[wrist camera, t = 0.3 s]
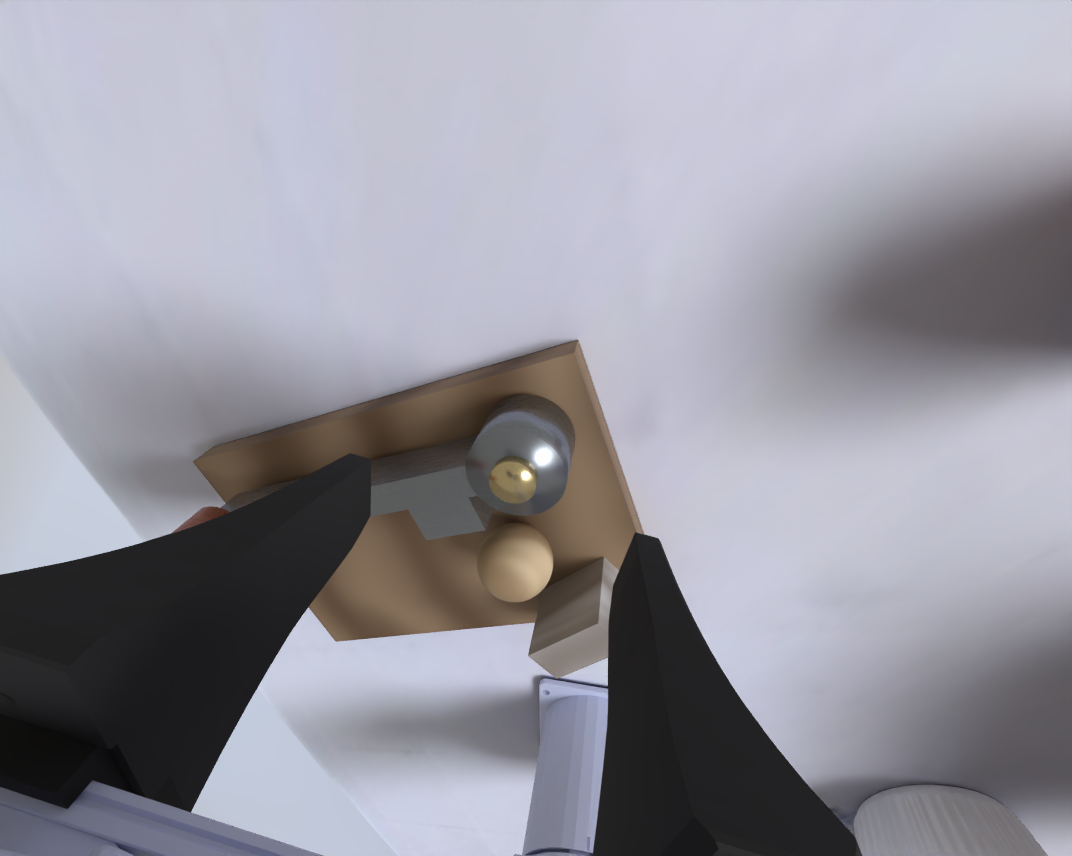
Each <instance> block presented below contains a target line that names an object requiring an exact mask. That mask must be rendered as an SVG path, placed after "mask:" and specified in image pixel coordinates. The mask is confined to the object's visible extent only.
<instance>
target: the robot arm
mask: <svg viewBox="0 0 1072 856" xmlns="http://www.w3.org/2000/svg"><path fill="white" fill-rule="evenodd" d="M370 516H371V459H369V458H366V457H362V456H358V455H355V454H351V453H349V454H347V455H345V456H343V457H341V458H339V459H337V460H336V461H334V462H332V463H330V464H328V465H326V466H324V467H322V468H321V469H319V470H317V471H315V472H313V473H311V474H309V475H307V476H305V477H303V478H301V479H300V480H298V481H296V482H294V483H292V484H290V485H288V486H286V487H284V488H282V489H280V490H278V491H276V492H274V493H271V494H269V495H267V496H265V497H263V498H261V499H258V500H256V501H254V502H252V503H250V504H248V505H245V506H243V507H241V508H239V509H236V510H234V511H232V512H229V513H227V514H224V515H222V516H219V517H217V518H214V519H212V520H209V521H206V522H204V523H201V524H198V525H196V526H193V527H190V528H187V529H184V530H181V531H178V532H175V533H172V534H168V535H165V536H162V537H159V538H156V539H152V540H149V541H146V542H143V543H140V544H136V545H133V546H129V547H125V548H122V549H118V550H114V551H111V552H107V553H102V554H98V555H94V556H90V557H86V558H82V559H77V560H73V561H69V562H64V563H59V564H54V565H49V566H44V567H39V568H34V569H29V570H24V571H19V572H13V573H8V574H2V575H0V856H322V855H319V854H316V853H313V852H310V851H307V850H304V849H301V848H298V847H295V846H292V845H289V844H286V843H283V842H280V841H276V840H273V839H270V838H267V837H264V836H261V835H258V834H255V833H252V832H249V831H246V830H243V829H239V828H237V827H234V826H230V825H227V824H224V823H221V822H218V821H215V820H212V819H209V818H206V817H203V816H200V815H197V814H194V813H191V811H192V809H193V807H194V805H195V803H196V801H197V799H198V797H199V795H200V793H201V791H202V789H203V787H204V785H205V783H206V781H207V779H208V777H209V776H210V774H211V772H212V770H213V768H214V766H215V764H216V762H217V760H218V758H219V756H220V754H221V752H222V750H223V748H224V747H225V745H226V743H227V741H228V739H229V738H230V736H231V734H232V732H233V730H234V728H235V727H236V725H237V723H238V721H239V719H240V717H241V716H242V714H243V712H244V710H245V708H246V706H247V705H248V703H249V701H250V699H251V698H252V696H253V694H254V693H255V691H256V689H257V688H258V686H259V684H260V682H261V681H262V679H263V677H264V675H265V674H266V672H267V670H268V669H269V667H270V665H271V664H272V662H273V660H274V659H275V657H276V655H277V654H278V652H279V650H280V649H281V647H282V645H283V644H284V642H285V641H286V639H287V637H288V636H289V634H290V632H291V631H292V629H293V628H294V626H295V625H296V624H297V622H298V621H299V619H300V618H301V616H302V615H303V614H304V612H305V611H306V610H307V608H308V607H309V606H310V604H311V603H312V602H313V600H314V599H315V598H316V596H317V595H318V594H319V592H320V591H321V590H322V588H323V587H324V586H325V584H326V583H327V582H328V580H329V579H330V578H331V576H332V575H333V574H334V572H335V571H336V570H337V568H338V567H339V566H340V564H341V563H342V562H343V560H344V559H345V558H346V556H347V555H348V553H349V552H350V551H351V549H352V548H353V546H354V544H355V543H356V541H357V539H358V538H359V536H360V534H361V532H362V531H363V529H364V527H365V525H366V523H367V521H368V519H369V518H370ZM539 724H540V749H539V755H538V761H537V767H536V773H535V780H534V786H533V792H532V798H531V804H530V810H529V816H528V822H527V828H526V834H525V840H524V846H523V853H522V855H517V854H515V855H514V856H862V853H861V851H860V848H859V846H858V843H857V840H856V838H855V837H854V836H853V834H852V833H851V832H850V831H849V830H848V829H847V828H846V827H845V826H844V825H843V823H842V822H841V821H840V820H839V819H838V818H837V817H836V816H835V815H834V814H833V812H832V811H831V810H830V809H829V808H828V807H827V806H826V805H825V804H824V803H823V802H822V800H821V799H820V798H819V797H818V796H817V795H816V794H815V793H814V792H813V791H812V789H811V788H810V787H809V786H808V785H807V784H806V783H805V781H804V780H803V779H802V778H801V777H800V775H799V774H798V773H797V772H796V771H795V769H794V768H793V767H792V766H791V764H790V763H789V762H788V761H787V760H786V758H785V757H784V756H783V755H782V754H781V752H780V751H779V750H778V749H777V747H776V746H775V745H774V743H773V742H772V741H771V740H770V738H769V737H768V736H767V734H766V733H765V732H764V730H763V729H762V727H761V726H760V725H759V723H758V722H757V721H756V719H755V718H754V717H753V715H752V714H751V713H750V711H749V710H748V708H747V707H746V706H745V704H744V703H743V702H742V700H741V699H740V697H739V696H738V694H737V693H736V691H735V690H734V688H733V687H732V685H731V683H730V682H729V680H728V679H727V677H726V676H725V674H724V672H723V671H722V669H721V668H720V666H719V664H718V662H717V661H716V659H715V657H714V656H713V654H712V652H711V650H710V649H709V647H708V645H707V643H706V641H705V639H704V638H703V636H702V634H701V632H700V630H699V628H698V626H697V624H696V622H695V620H694V618H693V616H692V614H691V612H690V610H689V608H688V606H687V604H686V602H685V599H684V597H683V595H682V593H681V591H680V589H679V586H678V584H677V582H676V579H675V577H674V575H673V572H672V570H671V567H670V565H669V562H668V560H667V557H666V555H665V552H664V550H663V547H662V544H661V542H660V540H659V539H658V538H655V537H651V536H648V535H644V534H640V533H637V532H635V534H634V536H633V539H632V541H631V543H630V546H629V548H628V550H627V553H626V555H625V558H624V560H623V562H622V565H621V567H620V570H619V572H618V574H617V577H616V579H615V582H614V584H613V590H612V597H611V605H610V614H609V625H608V689H606V688H600V687H594V686H588V685H582V684H576V683H570V682H564V681H558V680H552V679H542V680H540V684H539Z"/></svg>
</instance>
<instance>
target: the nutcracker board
mask: <svg viewBox="0 0 1072 856" xmlns="http://www.w3.org/2000/svg"><path fill="white" fill-rule="evenodd" d="M516 395H535V396H540V397H543V398H546V399H548V400H550V401H552V402H554V403H555V404H557V405H558V406H559V407H560V408H561V409H563V410H564V411H565V413H566V414H567V415H568V417H569V418H570V420H571V422H572V424H573V426H574V430H575V435H576V441H575V447H574V452H573V457H572V461H571V466H570V471H569V475H568V480H567V485H566V489H565V492H564V494H563V496H562V498H561V499H560V500H559V502H558V503H557V504H556V505H555V506H553V507H552V508H550V509H549V510H547V511H545V512H542V513H539V514H535V515H529V516H519V515H512V514H507V513H504V512H501V511H499V510H497V509H495V508H494V510H493V513H492V515H491V518H490V520H489V523H488V525H487V528H486V530H484V531H478V532H473V533H467V534H461V535H455V536H449V537H443V538H437V539H431V540H426V539H425V537H424V536H423V534H422V532H421V531H420V529H419V527H418V526H417V524H416V522H415V521H414V519H413V517H412V516H411V514H410V512H409V510H403V511H398V512H393V513H388V514H383V515H378V516H373V517H370V518H369V519H368V521H367V523H366V525H365V527H364V529H363V531H362V532H361V534H360V536H359V538H358V539H357V541H356V543H355V544H354V546H353V548H352V549H351V551H350V552H349V553H348V555H347V556H346V558H345V559H344V560H343V562H342V563H341V564H340V566H339V567H338V568H337V570H336V571H335V572H334V574H333V575H332V576H331V578H330V579H329V580H328V582H327V583H326V584H325V586H324V587H323V588H322V590H321V591H320V592H319V594H318V595H317V596H316V598H315V599H314V600H313V602H312V603H311V604H310V606H309V608H310V610H311V611H312V612H313V613H314V615H315V616H316V617H317V618H318V620H319V621H320V622H321V623H322V625H323V626H324V627H325V628H326V630H327V631H328V632H329V634H330V635H331V636H332V637H333V639H334V640H335V641H347V640H357V639H367V638H378V637H388V636H399V635H409V634H419V633H430V632H440V631H451V630H461V629H471V628H482V627H492V626H503V625H513V624H523V623H534V622H535V626H534V631H533V635H532V640H531V645H530V649H529V654H528V656H529V657H530V658H531V659H533V660H534V661H535V662H536V663H538V664H539V665H540V666H541V667H543V668H544V669H545V670H546V671H548V672H549V673H550V674H551V675H553V676H554V677H555V678H556V679H557V678H560V677H562V676H565V675H567V674H569V673H572V672H574V671H577V670H579V669H582V668H584V667H586V666H589V665H591V664H594V663H596V662H598V661H601V660H603V659H606V658H608V625H609V614H610V605H611V597H612V590H613V584H614V582H615V579H616V577H617V574H618V572H619V570H620V567H621V565H622V562H623V560H624V558H625V555H626V553H627V550H628V548H629V546H630V543H631V541H632V539H633V536H634V534H635V532H637V533H640V534H644V533H643V530H642V527H641V524H640V521H639V518H638V515H637V512H636V509H635V506H634V503H633V500H632V497H631V494H630V491H629V488H628V485H627V482H626V479H625V477H624V474H623V471H622V468H621V465H620V462H619V459H618V456H617V453H616V450H615V447H614V444H613V441H612V438H611V435H610V432H609V429H608V426H607V423H606V420H605V417H604V415H603V412H602V409H601V406H600V403H599V400H598V397H597V394H596V391H595V388H594V385H593V382H592V379H591V376H590V373H589V370H588V367H587V364H586V361H585V358H584V356H583V353H582V350H581V347H580V344H579V341H578V340H576V341H573V342H569V343H566V344H563V345H559V346H556V347H552V348H549V349H546V350H542V351H539V352H535V353H532V354H528V355H525V356H522V357H518V358H515V359H511V360H508V361H505V362H501V363H498V364H494V365H491V366H488V367H484V368H481V369H477V370H474V371H471V372H467V373H464V374H460V375H457V376H454V377H450V378H447V379H443V380H440V381H436V382H433V383H430V384H426V385H423V386H419V387H416V388H413V389H409V390H406V391H402V392H399V393H396V394H392V395H389V396H385V397H382V398H379V399H375V400H372V401H368V402H365V403H362V404H358V405H355V406H351V407H348V408H344V409H341V410H338V411H334V412H331V413H327V414H324V415H321V416H317V417H314V418H310V419H307V420H304V421H300V422H297V423H293V424H290V425H287V426H283V427H280V428H276V429H273V430H269V431H266V432H263V433H259V434H256V435H252V436H249V437H246V438H242V439H239V440H235V441H232V442H229V443H225V444H222V445H218V446H215V447H213V448H211V449H210V450H208V451H207V452H206V453H204V454H203V455H201V456H200V457H199V458H197V459H196V460H194V461H193V462H194V464H195V465H196V466H197V467H198V469H199V470H200V471H201V472H202V474H203V475H204V476H205V477H206V479H207V480H208V481H209V483H210V484H211V485H212V486H213V488H214V489H215V490H216V491H217V493H218V494H219V495H220V496H221V498H222V499H223V500H224V501H225V503H227V502H228V501H229V500H230V499H231V498H232V497H234V496H235V495H236V494H237V493H241V492H246V491H250V490H254V489H258V488H262V487H266V486H270V485H274V484H278V483H283V482H287V481H291V480H295V479H299V478H303V477H305V476H307V475H309V474H311V473H313V472H315V471H317V470H319V469H321V468H322V467H324V466H326V465H328V464H330V463H332V462H334V461H336V460H337V459H339V458H341V457H343V456H345V455H347V454H349V453H351V454H355V455H358V456H362V457H366V458H369V459H371V461H373V460H377V459H381V458H385V457H389V456H393V455H398V454H402V453H406V452H410V451H414V450H418V449H422V448H426V447H430V446H435V445H439V444H443V443H447V442H451V441H455V440H459V439H463V438H467V437H472V436H476V435H479V433H480V431H481V429H482V427H483V426H484V424H485V422H486V420H487V418H488V416H489V415H490V413H491V411H492V410H493V409H494V407H495V406H496V405H497V404H499V403H500V402H501V401H503V400H505V399H507V398H509V397H512V396H516ZM507 523H524V524H527V525H530V526H532V527H534V528H535V529H537V530H538V531H540V532H541V533H542V534H543V535H544V537H545V538H546V539H547V541H548V543H549V545H550V547H551V550H552V554H553V571H552V574H551V577H550V579H549V581H548V583H547V585H546V586H545V588H544V589H543V590H542V591H541V592H540V593H539V594H537V595H536V596H534V597H533V598H531V599H529V600H526V601H522V602H507V601H503V600H501V599H498V598H496V597H495V596H493V595H492V594H491V593H489V592H488V591H487V589H486V588H485V587H484V586H483V584H482V582H481V580H480V578H479V575H478V571H477V554H478V551H479V548H480V545H481V543H482V542H483V540H484V539H485V537H486V536H487V535H488V534H489V533H490V532H491V531H492V530H494V529H495V528H497V527H499V526H501V525H504V524H507Z"/></svg>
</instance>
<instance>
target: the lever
mask: <svg viewBox="0 0 1072 856" xmlns="http://www.w3.org/2000/svg"><path fill="white" fill-rule="evenodd" d="M575 441H576V435H575V430H574V426H573V424H572V422H571V420H570V418H569V417H568V415H567V414H566V413H565V411H564V410H563V409H561V408H560V407H559V406H558V405H557V404H555V403H554V402H552V401H550V400H548V399H546V398H543V397H540V396H535V395H516V396H512V397H509V398H507V399H505V400H503V401H501V402H500V403H499V404H497V405H496V406H495V407H494V409H493V410H492V411H491V413H490V415H489V416H488V418H487V420H486V422H485V424H484V426H483V427H482V429H481V431H480V433H479V435H476V436H472V437H467V438H463V439H459V440H455V441H451V442H447V443H443V444H439V445H435V446H430V447H426V448H422V449H418V450H414V451H410V452H406V453H402V454H398V455H393V456H389V457H385V458H381V459H377V460H373V461H371V516H370V517H373V516H378V515H383V514H388V513H393V512H398V511H403V510H409V512H410V514H411V516H412V517H413V519H414V521H415V522H416V524H417V526H418V527H419V529H420V531H421V532H422V534H423V536H424V537H425V539H426V540H431V539H437V538H443V537H449V536H455V535H461V534H467V533H473V532H478V531H484V530H486V528H487V525H488V523H489V520H490V518H491V515H492V513H493V510H494V508H495V509H497V510H499V511H501V512H504V513H507V514H512V515H519V516H529V515H535V514H539V513H542V512H545V511H547V510H549V509H550V508H552V507H553V506H555V505H556V504H557V503H558V502H559V500H560V499H561V498H562V496H563V494H564V492H565V489H566V485H567V480H568V475H569V471H570V466H571V461H572V457H573V452H574V447H575ZM300 479H301V478H299V479H295V480H291V481H287V482H283V483H278V484H274V485H270V486H266V487H262V488H258V489H254V490H250V491H246V492H241V493H237V494H236V495H235V496H234V497H232V498H231V499H230V500H229V501H228V502H227V503H226V504H224V505H223V506H222V507H221V508H218V507H204V508H202V509H200V510H199V511H198V512H197V513H195V514H194V515H193V516H192V517H191V518H189V519H188V520H187V521H186V522H184V523H183V524H182V525H181V526H180V527H178V528H177V529H176V530H175V531H174V532H172V533H175V532H178V531H181V530H184V529H187V528H190V527H193V526H196V525H198V524H201V523H204V522H206V521H209V520H212V519H214V518H217V517H219V516H222V515H224V514H227V513H229V512H232V511H234V510H236V509H239V508H241V507H243V506H245V505H248V504H250V503H252V502H254V501H256V500H258V499H261V498H263V497H265V496H267V495H269V494H271V493H274V492H276V491H278V490H280V489H282V488H284V487H286V486H288V485H290V484H292V483H294V482H296V481H298V480H300ZM172 533H171V534H172Z"/></svg>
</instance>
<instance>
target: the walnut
mask: <svg viewBox="0 0 1072 856" xmlns="http://www.w3.org/2000/svg"><path fill="white" fill-rule="evenodd" d="M477 571H478V575H479V578H480V580H481V582H482V584H483V586H484V587H485V588H486V589H487V591H488V592H489V593H491V594H492V595H493V596H495V597H496V598H498V599H501V600H503V601H507V602H522V601H526V600H529V599H531V598H533V597H534V596H536V595H537V594H539V593H540V592H541V591H542V590H543V589H544V588H545V586H546V585H547V583H548V581H549V579H550V577H551V574H552V571H553V554H552V550H551V547H550V545H549V543H548V541H547V539H546V538H545V537H544V535H543V534H542V533H541V532H540V531H538V530H537V529H535V528H534V527H532V526H530V525H527V524H524V523H507V524H504V525H501V526H499V527H497V528H495V529H494V530H492V531H491V532H490V533H489V534H488V535H487V536H486V537H485V539H484V540H483V542H482V543H481V545H480V548H479V551H478V554H477Z"/></svg>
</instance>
